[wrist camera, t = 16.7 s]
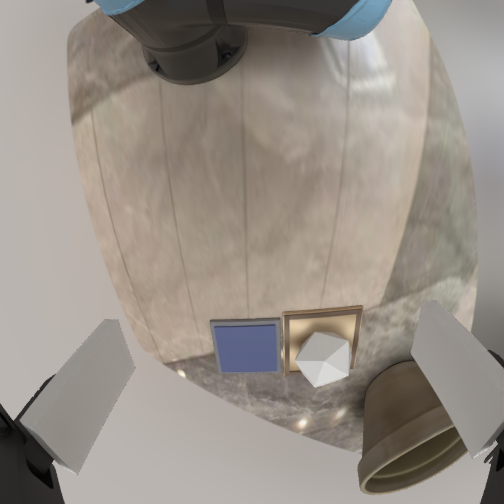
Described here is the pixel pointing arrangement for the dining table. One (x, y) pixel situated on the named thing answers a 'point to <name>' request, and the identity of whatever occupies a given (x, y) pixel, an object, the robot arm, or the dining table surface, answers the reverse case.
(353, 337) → the board
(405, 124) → the dining table surface
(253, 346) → the ink pad
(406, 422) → the plant pot
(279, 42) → the dining table surface
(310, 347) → the die
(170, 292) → the dining table surface
